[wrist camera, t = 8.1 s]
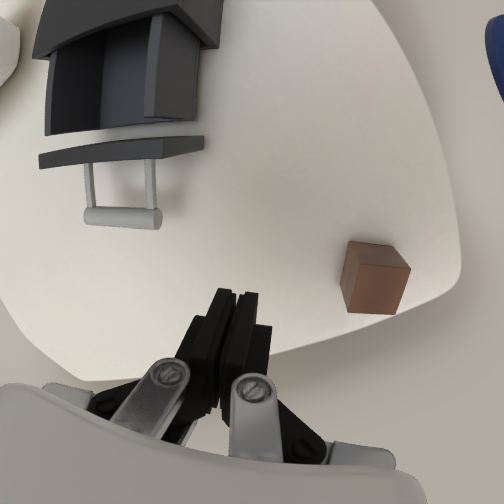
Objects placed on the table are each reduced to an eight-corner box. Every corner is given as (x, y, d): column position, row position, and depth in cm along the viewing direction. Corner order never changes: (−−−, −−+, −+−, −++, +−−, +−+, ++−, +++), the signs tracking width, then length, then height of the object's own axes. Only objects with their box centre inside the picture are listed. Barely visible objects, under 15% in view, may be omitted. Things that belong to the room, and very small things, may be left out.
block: (393, 246, 23) (411, 268, 19) (381, 287, 25) (395, 315, 21) (348, 240, 23) (360, 263, 19) (339, 284, 25) (347, 312, 21)
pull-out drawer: (203, 214, 23) (167, 250, 16) (100, 209, 24) (48, 237, 17) (213, 7, 15) (181, -36, 8) (104, 31, 16) (52, 14, 9)
